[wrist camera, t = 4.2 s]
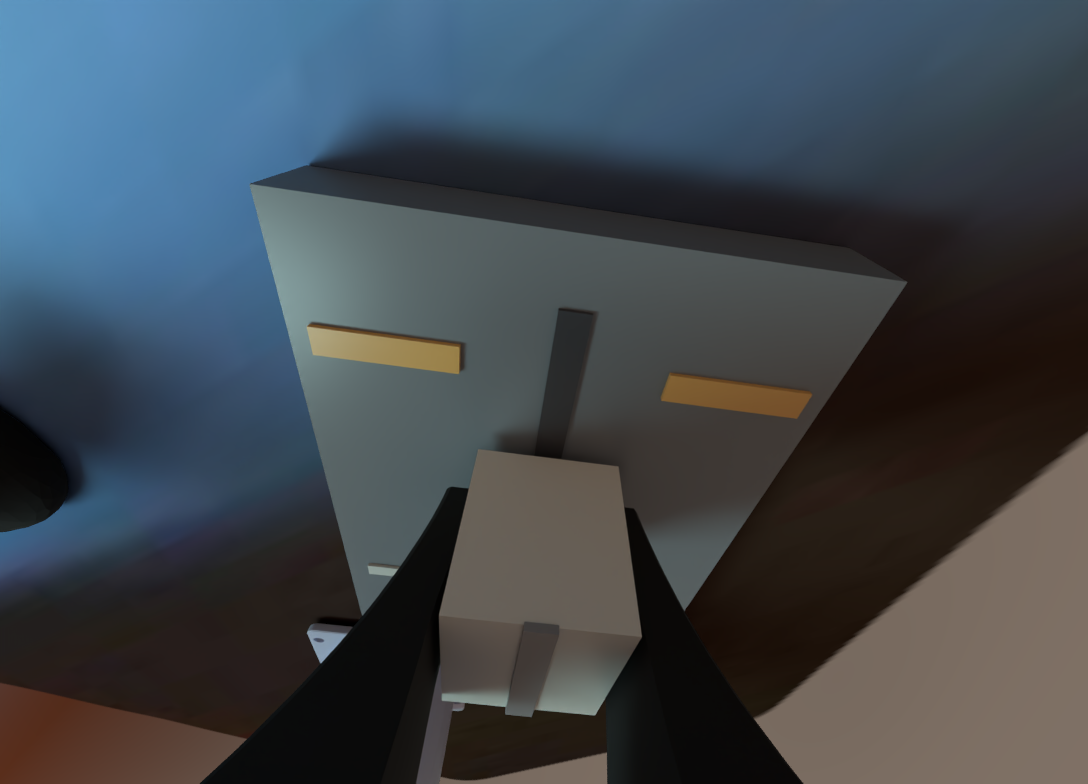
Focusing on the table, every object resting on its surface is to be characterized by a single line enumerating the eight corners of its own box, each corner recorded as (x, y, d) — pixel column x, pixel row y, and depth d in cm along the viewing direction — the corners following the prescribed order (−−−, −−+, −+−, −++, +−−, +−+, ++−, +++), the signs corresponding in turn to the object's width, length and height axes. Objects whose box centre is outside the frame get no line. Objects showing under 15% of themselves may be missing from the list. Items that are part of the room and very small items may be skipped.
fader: (587, 557, 13) (594, 722, 10) (472, 544, 13) (440, 708, 9) (618, 464, 10) (643, 643, 7) (478, 447, 10) (437, 621, 7)
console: (638, 623, 20) (644, 673, 18) (385, 596, 20) (368, 645, 18) (849, 248, 9) (911, 284, 8) (306, 165, 9) (245, 185, 7)
